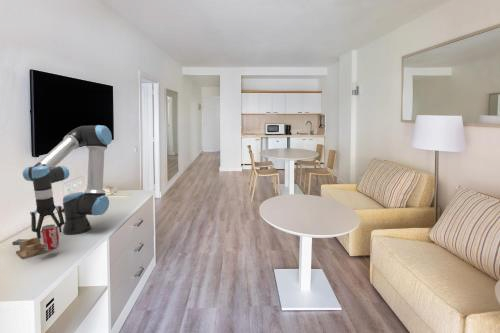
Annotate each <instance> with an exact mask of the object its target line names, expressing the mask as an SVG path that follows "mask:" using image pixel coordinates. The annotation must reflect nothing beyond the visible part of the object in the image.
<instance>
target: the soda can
mask: <svg viewBox="0 0 500 333" xmlns="http://www.w3.org/2000/svg"><path fill="white" fill-rule="evenodd" d="M40 231H42V234H43V241H44V244H43V248H44V250H46V251H49V252H53V251H55V250H57V249H58V248H59V246H60V242H59V241H60V240H59V239H58V232H57V228H56V224H46V225H43V226H41V230H40Z"/></svg>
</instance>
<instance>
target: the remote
mask: <svg viewBox="0 0 500 333" xmlns="http://www.w3.org/2000/svg"><path fill="white" fill-rule="evenodd" d="M25 240H28V239H26V238H25V239H24V238H23V239H21V238H19V239H16V240H14V241H12V245H13V246H19V242H21V241H25Z"/></svg>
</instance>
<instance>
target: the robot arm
mask: <svg viewBox="0 0 500 333" xmlns="http://www.w3.org/2000/svg"><path fill="white" fill-rule="evenodd" d="M112 139H113V137H112V132H111V130H110V129H109V128H108V127H107V126H106V125H100V124H97V125H81V126H78V127H76V128H74V129H73V130H71V131H70V132H68V133H66V135H65V136H64V137H63V139H62V140H61V141H60V142H59V143H58V144H57V145H56V146H55V147H53V148H52V149H51V150H50V151H49V152H48V153H47V154H46V155H44V156H43V158H41V159H40V160H39V161H38V162H37V163H35V164H34V165H33V166H28V167H25V168H24V169H23V171H22V177H23V179H24V180H25V181H28V182H32V184H33V191H34V197H35V204H36V205H35V206H36V209H35V210H34V211H30V213H29V214H30V216H31V222H30V223H31V231H32V232H33V233H36V237H37V238H40V243H41V244H42V245H43V244H44V241H43V234H42V231H41V230H42V227H43V226H42V225H43V223H44V222H43V221H44V219H45V217H48V216H50V217H51V218H52V220H53V221H54V223H55V227H56V228H57V232H58V239H59V241H60V240H61V239H62V238H61V233H62V230H63V234H64V235H78V234H83V233H86V232H88V231H89V230H91V229H92V225H91V223H90V220H89V219H88V217H87V216H102V215H104V214H105V213H107V211H108V209H109V207H110V200H109V197H108V196H107V195H106V192H105V191H104V189H103V188H104V166H105V151H106V150H107V149H108V146H109V145H110V144H111V142H112ZM81 146H85V147H86V148H87V149H88V164H87V165H88V166H87V184H86V186H87V187H86V190H85V191H84V192H83V191H80V192H73V193H70V194H67V195H64V196H63V198H62V206H63V212H64V215H63V213H62V206H61V205H55V201H54V197H53V196H54V194H53V193H54V192H53V187H52V184H54V183H58V182H62V181H65V180H67V179H68V178H69V177H70V170H69V168H68V167H67V166H65V165H59V164H60V163H61V162H62V161H63V160H64V159H65V158H66V157H67V156H68V155H69V154H70V153H71V152H72V151H73V150H76V149H79V147H81ZM55 210H56V211H57V212H56V213H57V215H58V218H57V217H56V215H55V212H54V211H55ZM37 214H39V216H38V222H37ZM62 226H63V228H62Z"/></svg>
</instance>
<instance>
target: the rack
mask: <svg viewBox="0 0 500 333" xmlns="http://www.w3.org/2000/svg"><path fill="white" fill-rule="evenodd" d="M18 246H19V250H16V251H15V254H16V255H18V256H19V257H20V258H21V259H22V260H25V259H29V258H31V257H35V256H39V255H42V254H45V253H49V252H50V251H46V250H44V248H43V245H42V244H41V243H40V238H37V236H36V237H33V238H32V237H31V238H30V239H28V240H25V241H21V242H19V245H18Z"/></svg>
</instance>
